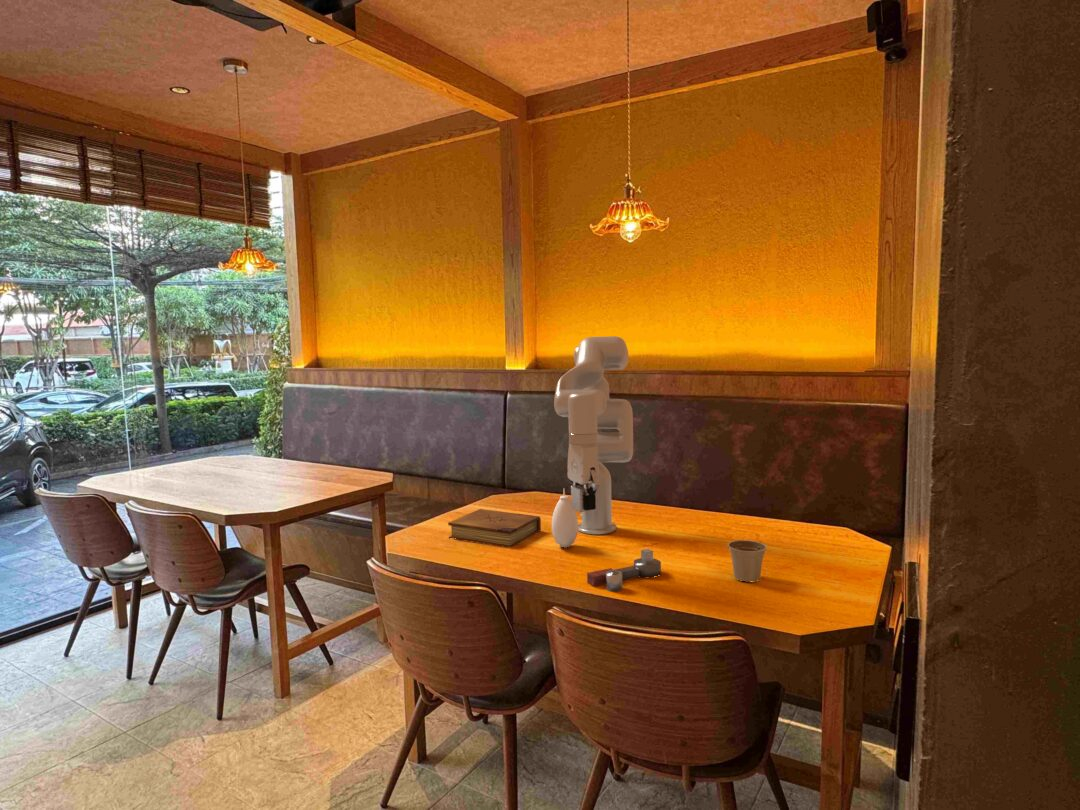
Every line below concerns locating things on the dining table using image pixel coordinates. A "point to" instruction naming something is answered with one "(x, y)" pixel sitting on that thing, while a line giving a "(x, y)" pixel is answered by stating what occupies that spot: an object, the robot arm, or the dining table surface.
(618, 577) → the socket
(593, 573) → the ratchet
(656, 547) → the dining table surface
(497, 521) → the diary
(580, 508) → the socket
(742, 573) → the flower pot
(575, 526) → the white air blower bulb
